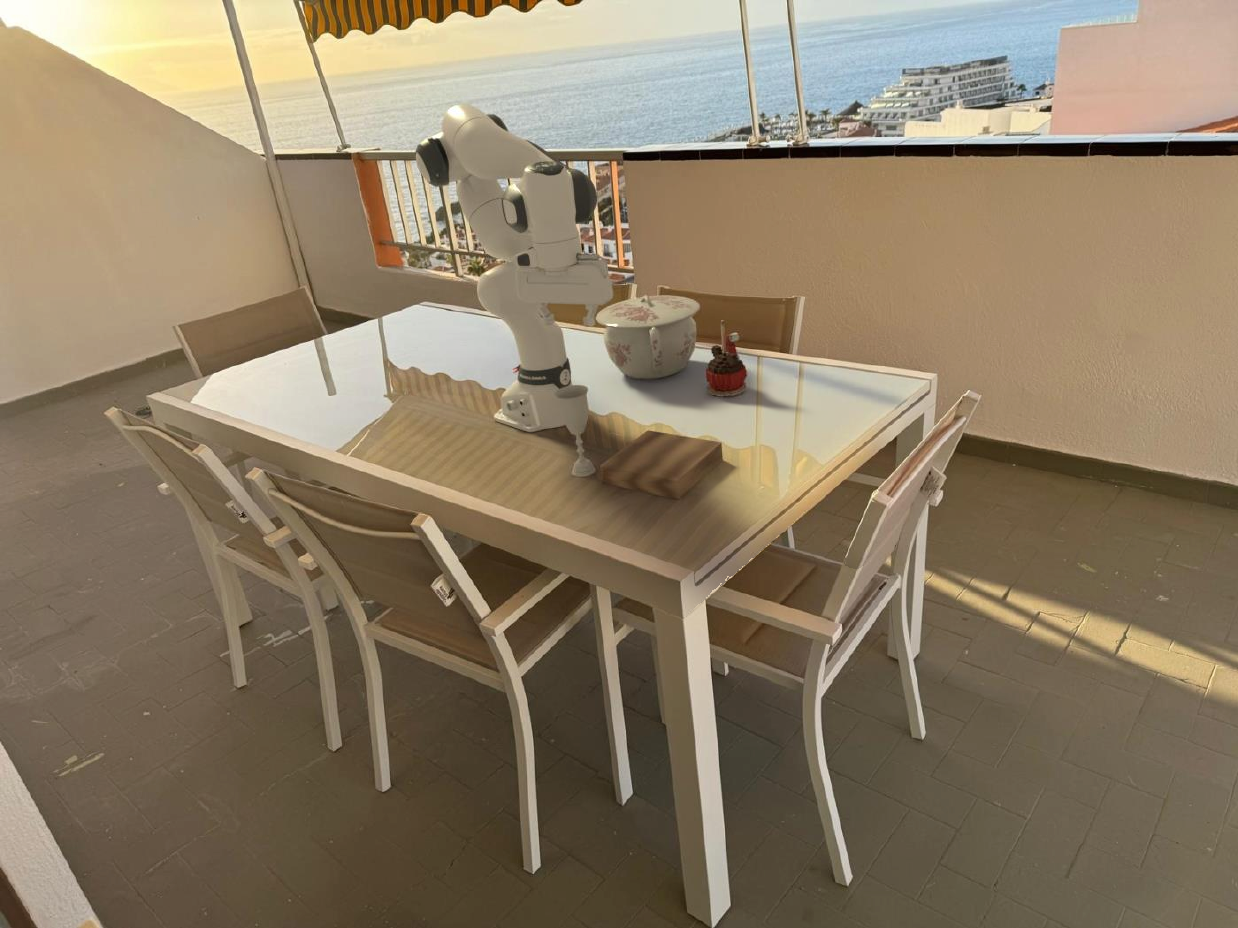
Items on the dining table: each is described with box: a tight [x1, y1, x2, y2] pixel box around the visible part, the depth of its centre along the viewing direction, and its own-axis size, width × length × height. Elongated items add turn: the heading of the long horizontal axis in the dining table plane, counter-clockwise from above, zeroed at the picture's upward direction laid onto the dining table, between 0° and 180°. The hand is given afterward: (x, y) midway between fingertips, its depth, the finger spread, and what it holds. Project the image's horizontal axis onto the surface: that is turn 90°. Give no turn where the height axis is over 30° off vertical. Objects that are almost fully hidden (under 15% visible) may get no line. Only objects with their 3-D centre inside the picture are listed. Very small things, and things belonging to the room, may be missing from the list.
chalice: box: [555, 384, 596, 478], centre depth 174 cm, size 7×7×18 cm
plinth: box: [599, 429, 724, 500], centre depth 172 cm, size 18×18×4 cm
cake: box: [705, 319, 748, 397], centre depth 204 cm, size 11×9×18 cm
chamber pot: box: [595, 294, 701, 380], centre depth 223 cm, size 28×28×21 cm
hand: (569, 325), depth 164 cm, fingers open, 8 cm apart
